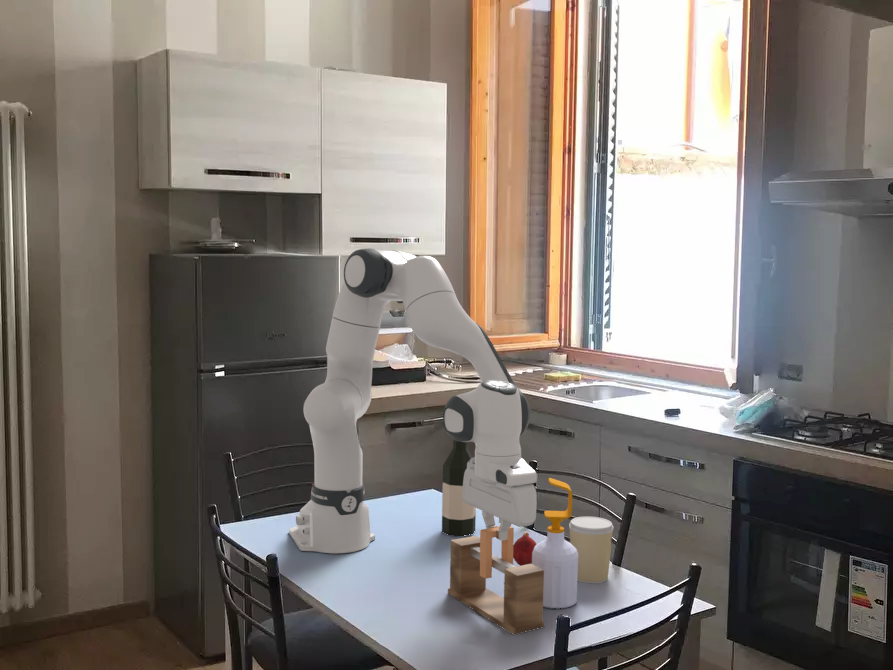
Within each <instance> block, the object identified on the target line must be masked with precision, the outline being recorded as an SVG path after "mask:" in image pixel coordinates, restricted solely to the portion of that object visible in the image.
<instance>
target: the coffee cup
mask: <svg viewBox="0 0 893 670" xmlns="http://www.w3.org/2000/svg"><path fill="white" fill-rule="evenodd" d="M568 528H569V543H571V544H572V545H573V546H574V547H575V548H576V549H577V552H578V576H577V582H579V583H585V584H601V582H602V583H604V581H605V582H606V581H608V579H609V578H608V577H609V570H610V562H611V554H612V553H611V552H612V543H613V532H614V525H613V523H612V521H610V520H609V519H607V518H604V517H598V516H591V515H590V516H577V517H575V518H572V519H571V520H570V522H569V524H568Z"/></svg>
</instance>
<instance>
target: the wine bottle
mask: <svg viewBox="0 0 893 670" xmlns="http://www.w3.org/2000/svg"><path fill="white" fill-rule="evenodd" d="M452 439H453V438H452ZM452 445H453V446H452V450H451V452H450V453H449V454H448V456H447V458H446V459H445V461H444V463H443V464H442V494H441V495H442V496H441V497H442V498H441V499H442V500H441V502H442V503H441V505H442V506H441V533H442V532H444V533H446V534H448V535H454V536H453V537H457V536H464V535H469V534H470V536H472V535H471V534H473V533H474V534H475V532H476V518H477V517H476V514H477V510H476V509H477V508H475V507H473V506H471V505H469V504H466V503H465V502H464V500H463V497H462V489H463V479H464V473H465V470H466V469H467V463H468V462H469V460H470V459H471V458H474V457H473V455H472V454H471V452H470V450H469V449H468V442H460V441H455V440H454V439H453V440H452ZM474 531H475V532H474ZM444 533H443V534H444ZM446 534H445V535H446ZM474 534H473V535H474ZM448 535H447V536H448ZM464 537H465V536H464Z"/></svg>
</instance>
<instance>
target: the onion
mask: <svg viewBox="0 0 893 670" xmlns="http://www.w3.org/2000/svg"><path fill="white" fill-rule="evenodd" d="M537 544H538V543H537V542H536V541H535V540H534V539H533V538H532V537H530V533H529V532H528V531H525V532H524V533H523V534H522V536H521V537H519V538H518V539H516V541H515V542H513V561H514V562H515V563H516V564H517V565H518V566H522V565H527V564H532V552H533V549H534V547H535V546H536V545H537Z"/></svg>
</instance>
